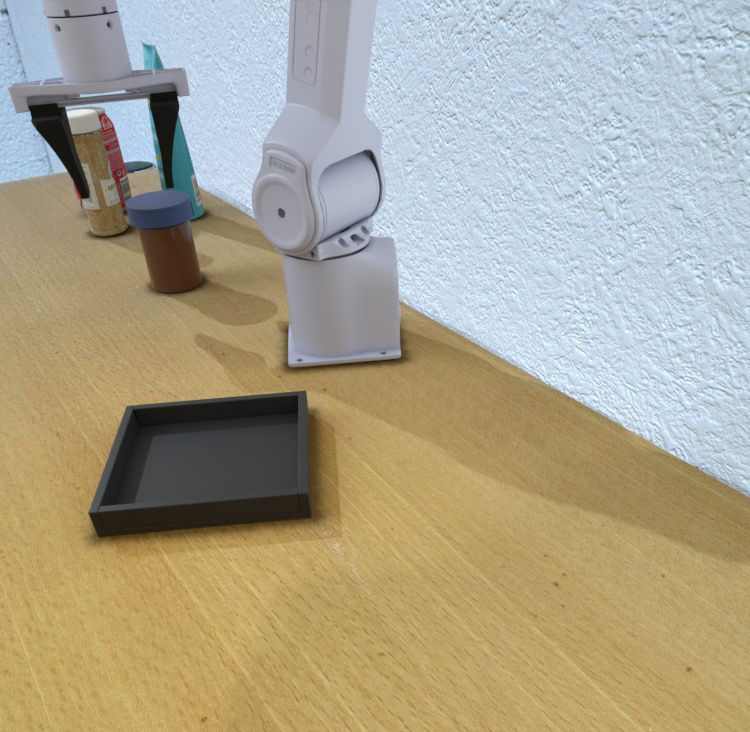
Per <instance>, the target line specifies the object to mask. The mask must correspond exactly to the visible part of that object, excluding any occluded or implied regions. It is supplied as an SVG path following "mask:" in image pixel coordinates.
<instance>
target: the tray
mask: <svg viewBox="0 0 750 732" xmlns="http://www.w3.org/2000/svg"><path fill="white" fill-rule="evenodd" d="M310 437H311V436H310V410H309V403H308V394H307V390H299V391H298V390H294V391H283V392H282V391H281V392H272V393H261V394H260V393H259V394H248V395H247V394H246V395H237V396H225V397H214V398H213V397H212V398H203V399H202V398H201V399H189V400H181V401H180V400H179V401H178V400H177V401H166V402H155V403H143V404H135V405H134V404H132V405H126V406H125V409H124V412H123V415H122V418H121V420H120V424H119V426H118V429H117V432H116V434H115V437H114V440H113V442H112V445H111V448H110V452H109V454H108V457H107V459H106V463H105V465H104V468H103V471H102V473H101V476H100V479H99V481H98V485H97V486H96V487H97V488H96V491H95V493H94V495H93V499H92V501H91V503H90V507H89V510H88V516H89V518H90V521H91V523H92V525H93V528H94V530H95V533H96V536H97V537H98V538H104V537H105V538H106V537H116V536H126V535H127V536H128V535H137V534H150V533H157V532H158V533H159V532H160V533H161V532H169V531H181V530H192V529H202V528H212V527H224V526H234V525H244V524H256V523H266V522H276V521H288V520H299V519H309V518H312V516H313V515H312V483H311V482H312V481H311V438H310Z"/></svg>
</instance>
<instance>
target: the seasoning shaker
mask: <svg viewBox="0 0 750 732" xmlns="http://www.w3.org/2000/svg"><path fill="white" fill-rule="evenodd" d="M77 109H92V110H95V111H96V112H97V114H98V117H99V121H100V125H101V128H100V130H101V135H102V139H103V143H104V146H105V149H106V153H107V157H108V160H109V162H110V166H111V170H112V173H113V177H114V181H115V184H116V188H117V191H118V195H119V198H120V204H121V208H122V211H123V213H124V212H127V209H126V205H125V203H126V201H127V200H129V199H130V198H132V197H133V196H132V190H131V185H130V182H129V176H128V173H127V168H126V164H125V162H124V158H123V152H122V149H121V145H120V142H119V138H118V135H117V131H116V128H115V125H114V123H113V121H112V120H111V118H110V117H109V116H108V115H107V114H106V109H105V108H104V107H101V106H82V107H81V106H80V107H74V108H69V109H66V111H70V110H77ZM69 177H70V179H71V183H72V186H73V190H74V193H75V195H76V198H77V201H78V203H79V205H80V208H81V210H82V211H83V212H86V209H85V207H84V204H83V201H82V199H81V197H80V194H79V192H78V190H77V188H76V186H75V184H74V182H73V180H72V178H71V176H70V175H69Z"/></svg>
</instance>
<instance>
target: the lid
mask: <svg viewBox="0 0 750 732" xmlns="http://www.w3.org/2000/svg"><path fill="white" fill-rule="evenodd" d="M125 205H126V209H127V210H126V212H127V216H128V219H129V223H130V225H131V226H133V227H135V228H137V227H138V228H145V229H156V228H166V227H171V226H175V225H179V224H182V223H184V222H186V221H188V220H190V219H191V218H192V217H193V215H194V212H193V207H192V202H191V200H190V195H189V194H188V193H186V192H183V191H176V190H163V191H162V190H156V191H148V192H144V193H141V194H138V195H135V196H132V198H130V199H129V200H127V201H126V203H125ZM190 221H191V220H190Z"/></svg>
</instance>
